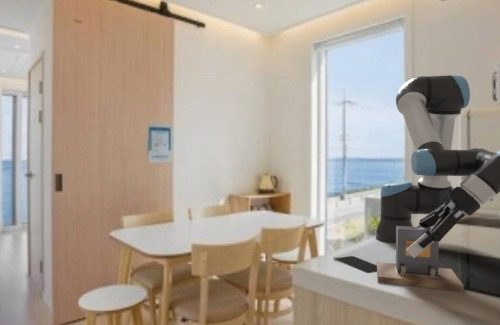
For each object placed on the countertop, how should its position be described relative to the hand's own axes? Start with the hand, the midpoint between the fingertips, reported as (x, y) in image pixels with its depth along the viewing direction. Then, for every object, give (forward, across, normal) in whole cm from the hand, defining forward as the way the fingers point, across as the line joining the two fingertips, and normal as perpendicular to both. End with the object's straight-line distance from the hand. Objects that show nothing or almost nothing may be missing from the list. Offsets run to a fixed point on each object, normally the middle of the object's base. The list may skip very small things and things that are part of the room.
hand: (406, 247), depth 98 cm
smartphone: (+15, +8, +3) cm, 17 cm away
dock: (+4, 0, -7) cm, 8 cm away
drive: (+3, 0, -6) cm, 7 cm away
